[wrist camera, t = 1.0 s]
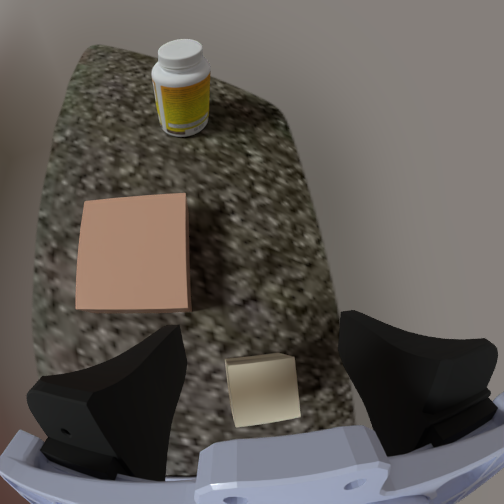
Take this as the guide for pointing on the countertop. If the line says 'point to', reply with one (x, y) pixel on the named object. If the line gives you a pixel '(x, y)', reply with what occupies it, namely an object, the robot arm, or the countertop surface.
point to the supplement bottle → (182, 87)
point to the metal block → (262, 389)
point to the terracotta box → (134, 255)
